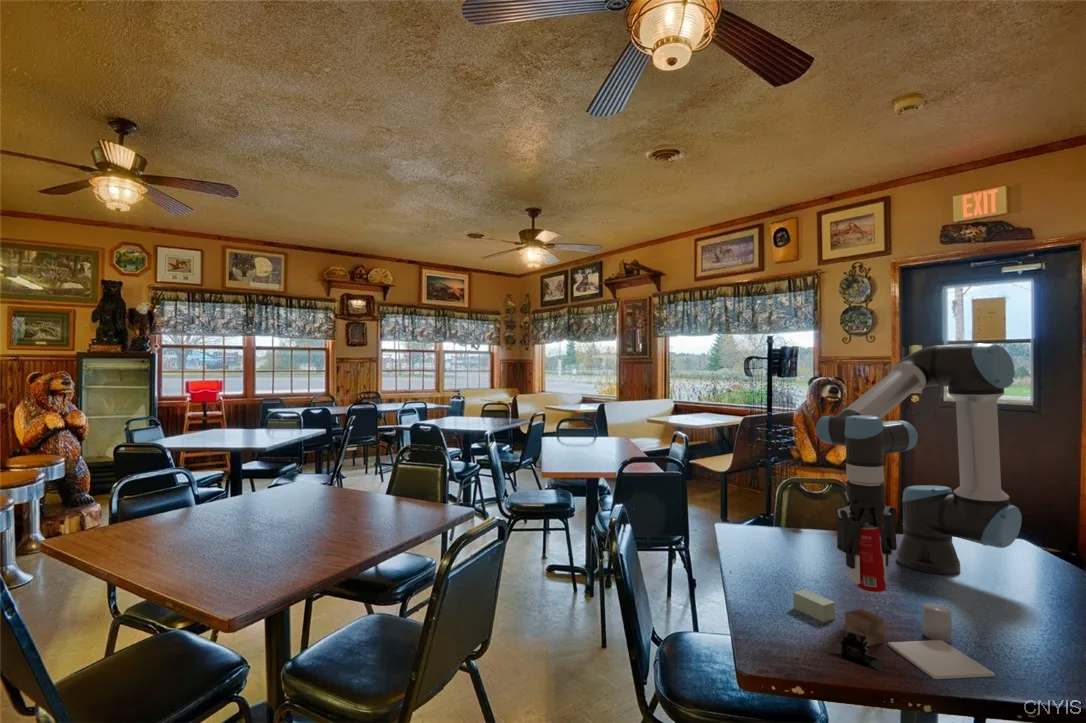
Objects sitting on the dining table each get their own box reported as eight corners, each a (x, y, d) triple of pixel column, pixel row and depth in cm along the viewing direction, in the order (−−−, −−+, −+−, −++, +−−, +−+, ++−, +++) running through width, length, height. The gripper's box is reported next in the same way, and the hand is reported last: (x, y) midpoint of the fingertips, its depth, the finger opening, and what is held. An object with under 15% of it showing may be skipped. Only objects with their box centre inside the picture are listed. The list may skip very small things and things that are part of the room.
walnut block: (862, 631, 116) (862, 608, 116) (883, 642, 111) (883, 619, 111) (845, 635, 114) (845, 612, 114) (866, 646, 109) (866, 623, 109)
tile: (941, 642, 111) (941, 639, 111) (994, 676, 99) (994, 673, 99) (887, 645, 110) (887, 642, 110) (934, 679, 98) (934, 676, 98)
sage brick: (804, 605, 129) (804, 589, 129) (835, 619, 122) (834, 602, 122) (793, 608, 127) (793, 592, 127) (823, 623, 120) (823, 605, 120)
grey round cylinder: (938, 630, 116) (938, 603, 116) (957, 642, 111) (957, 613, 111) (917, 630, 116) (917, 603, 116) (935, 642, 111) (935, 614, 111)
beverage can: (890, 595, 119) (888, 529, 119) (859, 593, 120) (857, 528, 120) (879, 584, 125) (877, 521, 125) (849, 582, 126) (847, 520, 126)
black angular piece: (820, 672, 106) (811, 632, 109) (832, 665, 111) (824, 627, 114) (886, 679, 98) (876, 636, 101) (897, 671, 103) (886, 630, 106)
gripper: (890, 476, 127) (893, 572, 127) (817, 480, 125) (820, 576, 125) (915, 483, 119) (917, 585, 119) (837, 487, 118) (840, 590, 118)
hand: (867, 580), depth 122 cm, fingers closed on beverage can, 6 cm apart
